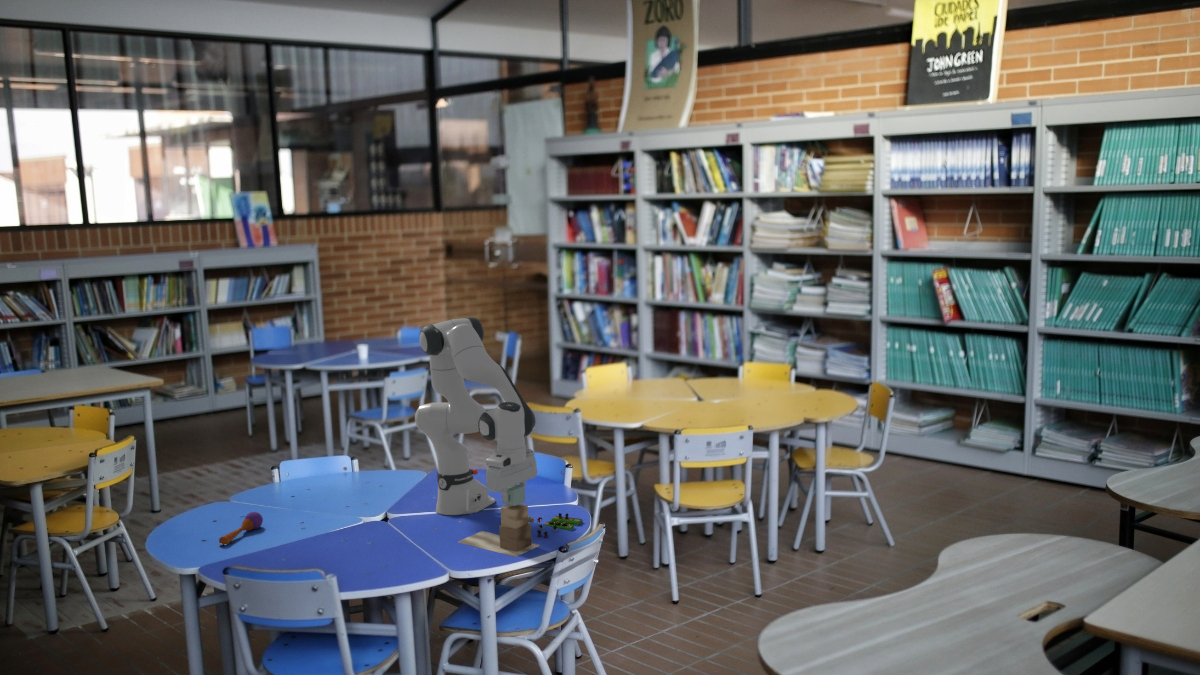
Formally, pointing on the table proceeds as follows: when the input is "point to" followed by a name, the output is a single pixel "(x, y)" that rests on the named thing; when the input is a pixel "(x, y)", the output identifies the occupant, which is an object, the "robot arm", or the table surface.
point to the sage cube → (515, 495)
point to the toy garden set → (557, 523)
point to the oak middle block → (514, 516)
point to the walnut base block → (515, 537)
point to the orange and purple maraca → (244, 527)
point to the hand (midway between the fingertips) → (513, 498)
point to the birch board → (492, 543)
